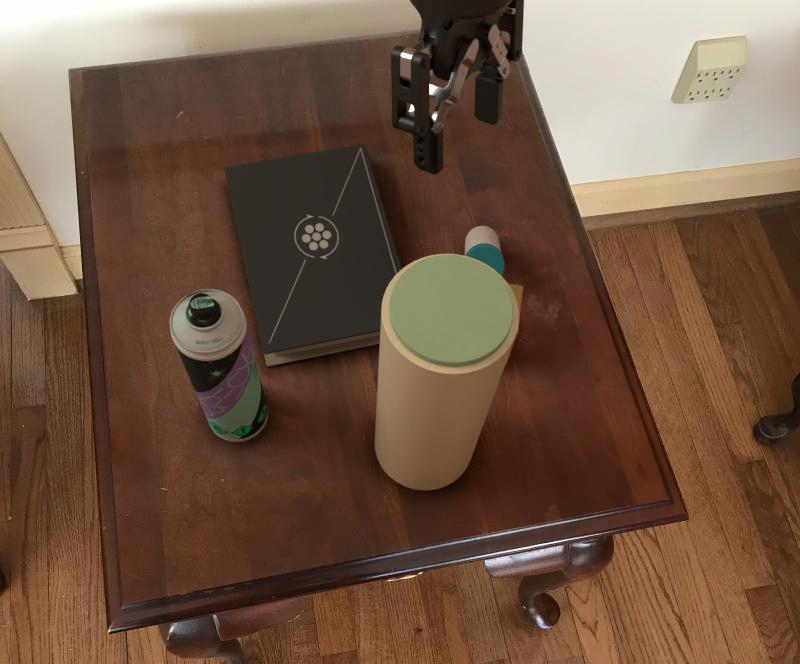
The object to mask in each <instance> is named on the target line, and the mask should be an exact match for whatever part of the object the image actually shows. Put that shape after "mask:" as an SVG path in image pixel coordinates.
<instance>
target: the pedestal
mask: <svg viewBox="0 0 800 664" xmlns="http://www.w3.org/2000/svg"><path fill="white" fill-rule="evenodd" d="M439 255H457V256H463V257H467V256H465V255H463V254H458V253H437V254H430V255H427V256H423V257H421V258H419V259H416V260H414V261H412V262H410V263H408V264H407V265H405V266H404V267H402V270H400V271H399V272H398V273H397V274H396V275H395V276H394V278H393V279H392V280H391V282H390V283H389V285H388V287H387V289H386V291H385V294H384V297H383V301H382V310H381V329H380V345H379V350H378V351H379V352H378V370H377V387H376V388H377V389H376V405H375V408H376V409H375V428H374V450H375V455H376V458H377V461H378V463H379V465H380V467H381V468H382V470H383V471H384V472H385V473H386V475H387V476H388V477H389V478H391V479H392V480H393V481H394V482H396V483H397V484H399V485H401V486H404V487H406V488H408V489H411V490H417V491H433V490H439V489H442V488H445V487H447V486H449V485H451V484H452V483H455V481H457V480H458V479H459V478H461V476H462V475H463V474H464V473H465V471H466V470H467V468H468V467H469V465H470V463H471V461H472V457H473V455H474V452H475V449H476V446H477V443H478V441H479V438H480V435H481V433H482V429H483V427H484V424H485V422H486V419H487V416H488V414H489V410H490V407H491V405H492V403H493V400H494V397H495V394H496V391H497V389H498V387H499V383H500V381H501V378H502V376H503V372H504V370H505V367H506V365H507V364H506V361H507V359H508V356H509V353H510V351H511V348H512V345H513V342H514V340H515V337H516V334H517V330H518V331H519V329H518V325H519V326H520V320H519V309H518V304H517V301H516V298H515V295H514V293H513V291H512V289H511V288H510V286H509V285H508V284H509V283H508V282H507V281H506V279H505V278H504V277H503V275H502V276H501V275H500V274H499V273H498V272H497V271H495V270H494V269H493V268H491V267H490V266H488V265H487V264H485V263H483V262H481V261H479V260H476V259H474V258H471V257H467V258H470V259H473V260H476V261H478V262H480V263H482V264H484V265H485V266H487V267H488V268H490V269H491V270H492V271H494V272H495V273H496V274H497V275H498V276H499V277H500V279H501V280H502V281H503V282H504V284H505V286H506V287H507V289H508V291H509V293H510V296H511V299H512V304H513V319H512V324H511V327H510V330H509V333H508V335H507V337H506V339H505V341H504V342H503V344H502V345H501V346H500V347H499V348H498V349H497V350H496V351H495V352H494V353H493V354H492V355H490V356H488V357H487V358H485V359H483V360H481V361H479V362H476V363H473V364H470V365H465V366H443V365H437V364H434V363H431V362H428V361H426V360H423V359H421V358H419V357H418V356H416V355H414V354H413V353H412V352H411V351H409V350H408V349H407V348H406V347H405V346H404V345H403V344H402V343H401V341H400V340H399V339H398V337H397V335H396V334H395V332H394V330H393V327H392V325H391V321H390V314H389V305H390V297H391V293H392V290H393V287H394V285H395V283H396V282H397V280H398V279H399V277H400V276H401V275H402V274H403V273H404V272H405V271H406V270H407V269H408V268H410V267H411V266H412V265H414V264H415V263H417V262H419V261H421V260H424V259H426V258H430V257H433V256H439ZM517 335H518V334H517ZM516 338H517V337H516ZM515 341H516V340H515ZM513 346H514V345H513ZM512 349H513V348H512ZM511 352H512V351H511ZM510 354H511V353H510ZM509 357H510V356H509ZM508 360H509V359H508ZM505 364H506V365H505Z"/></svg>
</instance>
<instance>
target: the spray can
mask: <svg viewBox="0 0 800 664" xmlns="http://www.w3.org/2000/svg"><path fill="white" fill-rule="evenodd" d="M169 329H170V336H171V338H172V342H173V344H174V346H175V349H176V351H177V352H178V356H179V357H180V360H181V362H182V365H183V367H184V369H185V372H186V374H187V376H188V379H189V380H190V383H191V385H192V388H193V390H194V392H195V395H196V397H197V399H198V402H199V405H200V406H201V408H202V411H203V414H204V416H205V418H206V420H207V422H208V425H209V427H210V428H211V430H212V431H213V433H214V434H215V435H216V436H217V437H218V438H221V439H222V440H224V441H227V442H232V443H240V442H241V443H242V442H247V441H249V440H252V439H253V438H255V437H257V435H259V434H260V433H261V432H262V431H263V430H264V428H265V426H266V424H267V421H268V418H269V408H268V403H267V398H266V395H265V390H264V387H263V382H262V379H261V374H260V370H259V366H258V363H257V359H256V354H255V350H254V347H253V343H252V338H251V335H250V330H249V326H248V322H247V318H246V315H245V312H244V310H243V309H242V307H241V305H240V303H239V302H238V301H237V300H236V298H234V296H232V295H230V294H229V293H227V292H225V291H222V290H221V289H214V288H204V289H198V290H195V291H192V292H190V293H188V294H186V295H185V296H183V297H182V298H181V299H180V300H178V301H177V303H176V304H175V306H174V307H173V309H172V311H171V313H170V316H169Z"/></svg>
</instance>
